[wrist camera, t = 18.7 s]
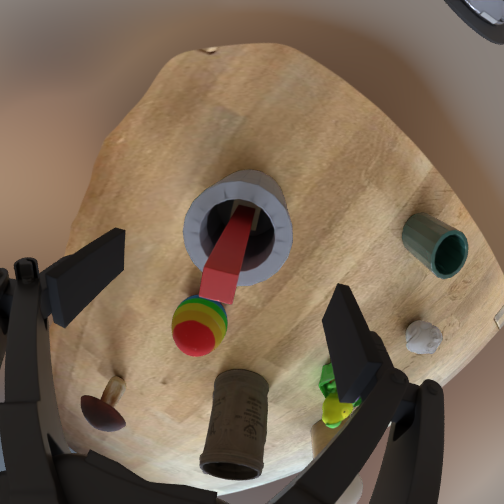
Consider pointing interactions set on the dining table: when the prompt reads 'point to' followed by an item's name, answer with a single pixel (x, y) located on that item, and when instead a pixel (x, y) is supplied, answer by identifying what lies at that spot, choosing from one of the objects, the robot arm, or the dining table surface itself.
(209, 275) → the paint brush
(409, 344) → the grey wrinkled ball
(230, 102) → the dining table surface
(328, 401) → the fruit basket
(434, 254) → the pen pot
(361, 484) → the lamp
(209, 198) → the vase
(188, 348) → the decorative egg
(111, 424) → the decorative mushroom
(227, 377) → the dark grey hollow cylinder
